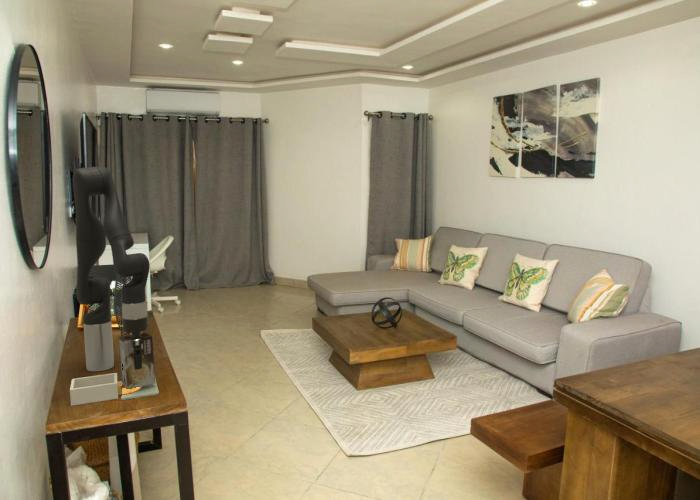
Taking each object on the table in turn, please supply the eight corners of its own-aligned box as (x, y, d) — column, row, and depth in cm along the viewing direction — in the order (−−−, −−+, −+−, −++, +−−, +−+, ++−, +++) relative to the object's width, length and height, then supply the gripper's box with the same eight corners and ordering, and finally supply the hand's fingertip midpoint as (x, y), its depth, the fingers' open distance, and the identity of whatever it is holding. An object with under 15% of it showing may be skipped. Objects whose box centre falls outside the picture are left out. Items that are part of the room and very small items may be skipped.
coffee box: (150, 378, 179) (147, 331, 177) (156, 383, 174) (153, 335, 172) (121, 384, 174) (118, 336, 172) (126, 390, 169) (123, 340, 167)
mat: (120, 385, 178) (120, 383, 178) (155, 379, 183) (155, 378, 183) (121, 400, 166) (121, 398, 166) (158, 394, 170) (158, 392, 170)
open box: (73, 393, 171) (72, 378, 170) (117, 387, 176) (116, 372, 176) (70, 405, 162) (69, 390, 161) (118, 398, 167) (117, 383, 166)
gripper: (121, 311, 176) (124, 360, 178) (122, 322, 163) (125, 374, 165) (146, 309, 179) (148, 357, 181) (148, 319, 166) (151, 370, 168)
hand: (137, 365), depth 173 cm, fingers closed on coffee box, 7 cm apart
